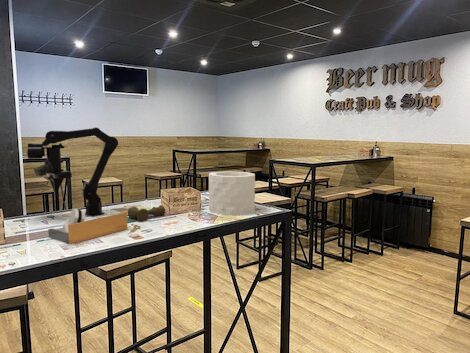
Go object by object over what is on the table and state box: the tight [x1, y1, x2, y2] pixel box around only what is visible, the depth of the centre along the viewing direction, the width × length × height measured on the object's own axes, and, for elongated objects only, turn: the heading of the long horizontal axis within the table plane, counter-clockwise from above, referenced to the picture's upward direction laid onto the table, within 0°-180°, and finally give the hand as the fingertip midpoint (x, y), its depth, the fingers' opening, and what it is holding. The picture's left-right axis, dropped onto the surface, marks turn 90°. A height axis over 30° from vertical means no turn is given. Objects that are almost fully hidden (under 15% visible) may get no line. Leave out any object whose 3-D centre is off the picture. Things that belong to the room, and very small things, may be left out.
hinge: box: [62, 208, 86, 233], centre depth 146 cm, size 17×5×10 cm, turn 29°
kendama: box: [127, 204, 166, 223], centre depth 168 cm, size 6×10×20 cm
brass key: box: [129, 225, 141, 233], centre depth 149 cm, size 7×3×1 cm, turn 175°
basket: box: [208, 170, 256, 216], centre depth 186 cm, size 25×24×19 cm
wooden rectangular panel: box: [48, 211, 128, 245], centre depth 144 cm, size 25×15×7 cm, turn 145°
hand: (55, 192), depth 166 cm, fingers closed
